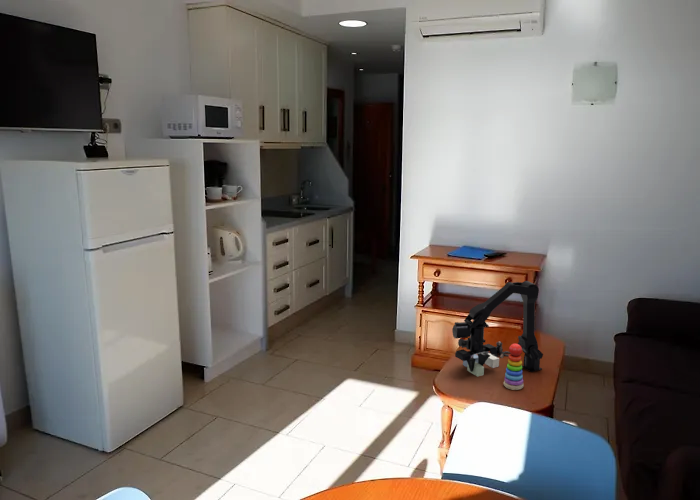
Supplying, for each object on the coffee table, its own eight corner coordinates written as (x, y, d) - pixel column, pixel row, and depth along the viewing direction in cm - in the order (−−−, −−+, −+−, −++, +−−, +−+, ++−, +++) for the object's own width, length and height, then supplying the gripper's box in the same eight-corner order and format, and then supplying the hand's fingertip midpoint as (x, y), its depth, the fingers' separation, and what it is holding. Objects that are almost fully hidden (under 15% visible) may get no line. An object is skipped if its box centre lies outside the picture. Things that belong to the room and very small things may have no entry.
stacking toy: (499, 384, 226) (501, 341, 223) (515, 381, 229) (517, 339, 225) (511, 392, 219) (513, 348, 215) (527, 388, 222) (530, 345, 218)
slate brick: (475, 362, 249) (475, 354, 248) (480, 365, 246) (480, 357, 245) (462, 365, 246) (463, 356, 245) (467, 368, 243) (467, 359, 242)
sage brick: (483, 375, 235) (484, 366, 234) (477, 376, 234) (477, 368, 233) (473, 369, 242) (474, 361, 241) (467, 370, 240) (467, 362, 239)
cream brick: (498, 366, 244) (499, 358, 243) (492, 368, 243) (492, 359, 242) (488, 361, 250) (488, 353, 250) (482, 362, 249) (482, 354, 248)
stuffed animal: (514, 358, 251) (493, 341, 254) (501, 372, 255) (480, 355, 258) (516, 348, 262) (496, 333, 264) (504, 362, 266) (484, 347, 268)
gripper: (481, 327, 246) (480, 360, 249) (448, 334, 237) (447, 367, 240) (498, 335, 236) (496, 369, 239) (464, 342, 228) (462, 377, 231)
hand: (475, 370), depth 237 cm, fingers open, 4 cm apart
